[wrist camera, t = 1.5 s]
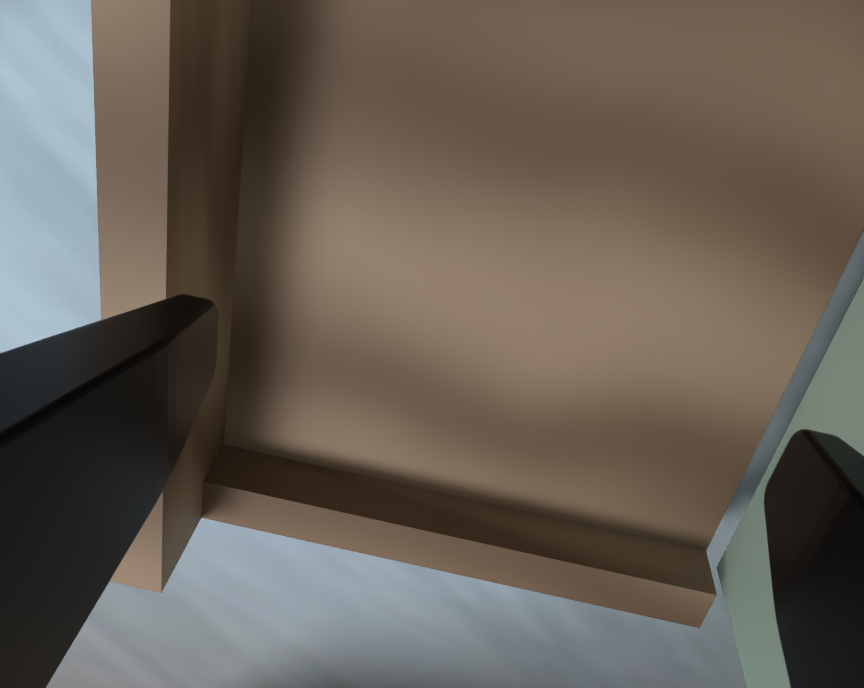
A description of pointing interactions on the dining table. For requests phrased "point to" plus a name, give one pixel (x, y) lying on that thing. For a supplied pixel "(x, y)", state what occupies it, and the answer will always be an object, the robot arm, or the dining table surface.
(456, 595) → the dining table surface
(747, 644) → the tailgate
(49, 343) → the robot arm
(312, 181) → the tray
